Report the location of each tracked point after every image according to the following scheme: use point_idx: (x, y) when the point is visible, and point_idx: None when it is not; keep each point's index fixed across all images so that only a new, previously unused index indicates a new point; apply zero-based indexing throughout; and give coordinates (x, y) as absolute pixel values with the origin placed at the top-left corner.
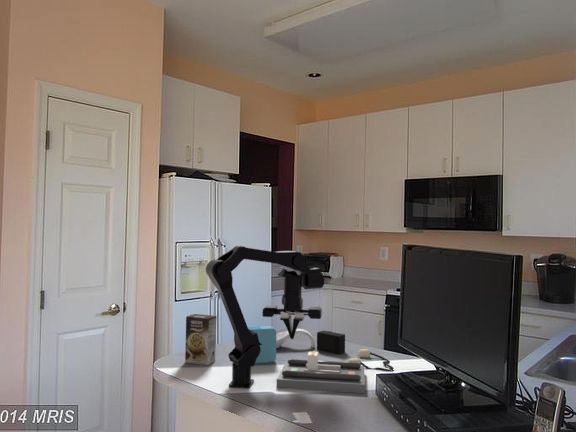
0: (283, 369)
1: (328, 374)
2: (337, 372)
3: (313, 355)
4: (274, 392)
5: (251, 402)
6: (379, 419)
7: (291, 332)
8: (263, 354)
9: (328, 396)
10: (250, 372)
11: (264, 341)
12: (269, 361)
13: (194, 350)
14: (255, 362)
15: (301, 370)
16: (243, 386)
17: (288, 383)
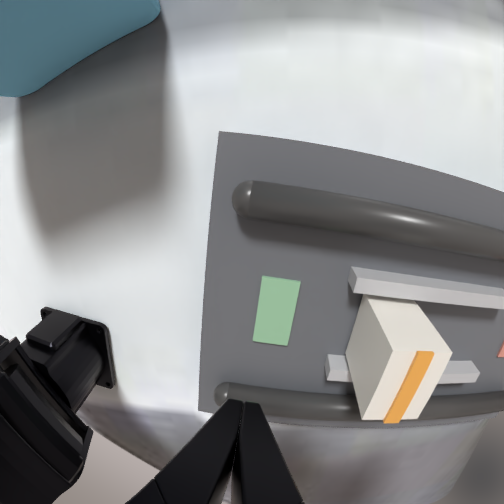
0: (213, 291)
1: (419, 420)
2: (466, 380)
3: (397, 419)
4: (204, 419)
5: (157, 458)
6: (432, 491)
7: (222, 498)
8: (79, 36)
9: (380, 436)
10: (86, 386)
11: (34, 13)
12: (130, 31)
13: None
14: (67, 67)
15: (319, 307)
16: (96, 383)
17: None
